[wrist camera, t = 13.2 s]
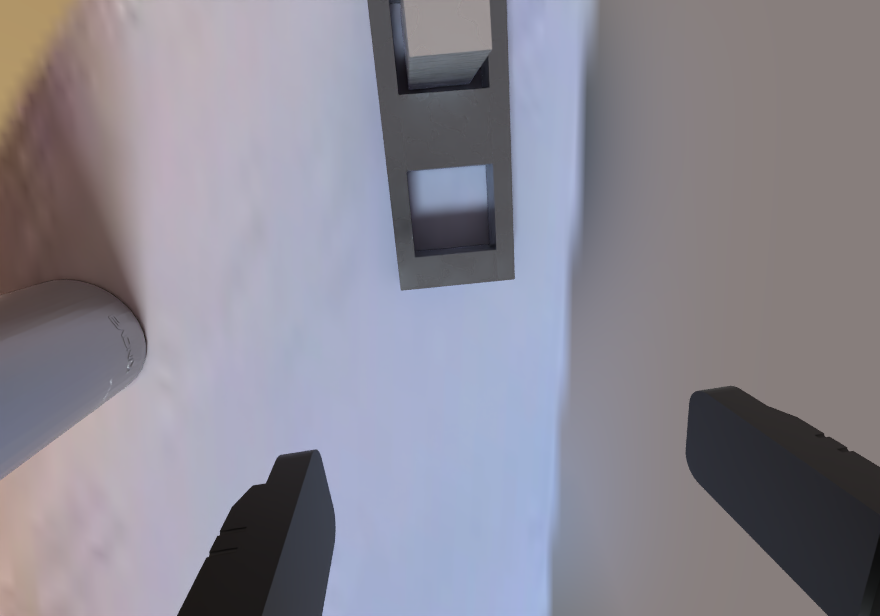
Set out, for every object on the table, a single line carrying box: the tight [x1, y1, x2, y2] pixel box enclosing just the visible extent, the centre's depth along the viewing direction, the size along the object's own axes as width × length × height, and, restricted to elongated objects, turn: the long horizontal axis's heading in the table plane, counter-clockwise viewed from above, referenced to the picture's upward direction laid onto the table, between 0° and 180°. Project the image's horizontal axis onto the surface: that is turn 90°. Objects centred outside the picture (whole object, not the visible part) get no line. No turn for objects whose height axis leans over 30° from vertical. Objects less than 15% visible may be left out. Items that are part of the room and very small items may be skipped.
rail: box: [368, 0, 515, 290], centre depth 27 cm, size 8×20×2 cm, turn 5°
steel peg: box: [400, 0, 492, 90], centre depth 23 cm, size 4×4×8 cm
